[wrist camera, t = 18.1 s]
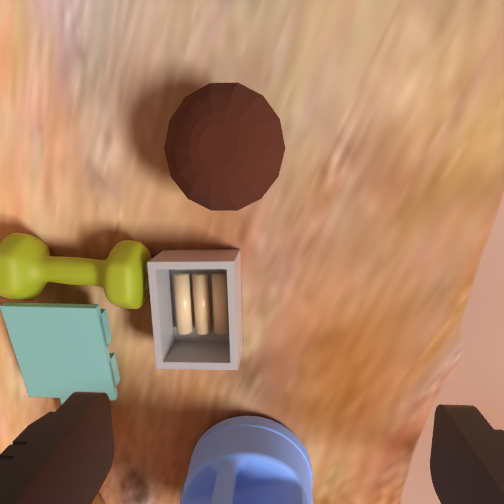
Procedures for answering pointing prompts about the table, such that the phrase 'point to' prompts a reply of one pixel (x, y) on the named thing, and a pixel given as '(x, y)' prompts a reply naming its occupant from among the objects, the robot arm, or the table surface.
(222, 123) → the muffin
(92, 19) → the table surface
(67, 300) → the table surface
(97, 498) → the stuffed squirrel
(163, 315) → the tub
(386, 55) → the table surface
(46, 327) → the teal flat paddle shape
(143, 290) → the dumbbell
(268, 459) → the water jug
